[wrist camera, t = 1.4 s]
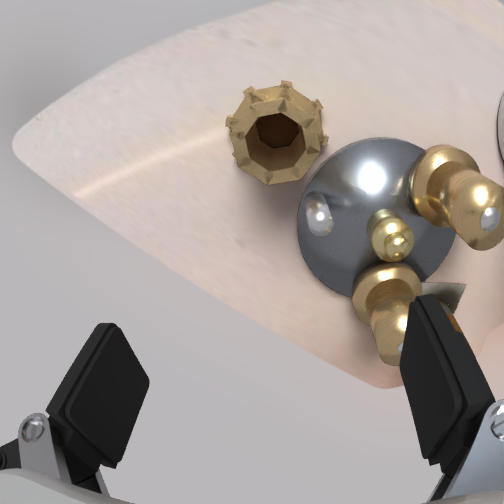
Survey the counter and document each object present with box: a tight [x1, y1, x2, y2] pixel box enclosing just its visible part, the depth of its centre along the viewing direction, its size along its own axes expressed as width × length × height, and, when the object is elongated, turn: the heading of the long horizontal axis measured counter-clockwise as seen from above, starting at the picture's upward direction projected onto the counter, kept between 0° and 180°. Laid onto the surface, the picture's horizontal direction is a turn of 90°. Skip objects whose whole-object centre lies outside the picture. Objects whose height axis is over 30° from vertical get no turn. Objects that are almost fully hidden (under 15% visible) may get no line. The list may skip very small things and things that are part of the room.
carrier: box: [297, 137, 504, 366], centre depth 24 cm, size 18×19×9 cm
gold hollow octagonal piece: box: [225, 80, 329, 185], centre depth 21 cm, size 8×8×8 cm
